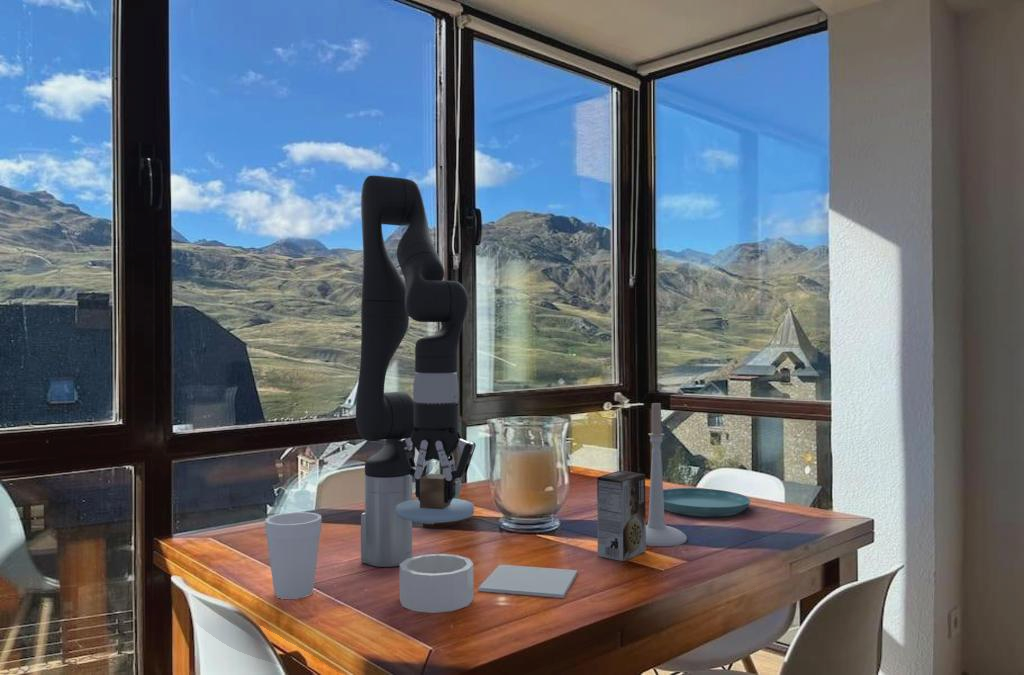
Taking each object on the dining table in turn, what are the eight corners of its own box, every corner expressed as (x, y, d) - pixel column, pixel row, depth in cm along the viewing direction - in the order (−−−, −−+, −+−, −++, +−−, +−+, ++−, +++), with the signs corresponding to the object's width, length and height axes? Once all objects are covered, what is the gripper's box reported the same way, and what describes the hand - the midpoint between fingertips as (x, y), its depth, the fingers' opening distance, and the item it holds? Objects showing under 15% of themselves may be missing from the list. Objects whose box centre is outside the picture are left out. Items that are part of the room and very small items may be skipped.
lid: (383, 519, 125) (383, 481, 125) (413, 502, 138) (413, 467, 138) (459, 525, 122) (459, 485, 122) (483, 506, 135) (483, 471, 135)
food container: (438, 531, 176) (437, 487, 176) (418, 527, 179) (418, 484, 179) (473, 521, 186) (472, 479, 186) (453, 517, 189) (453, 476, 189)
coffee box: (619, 546, 163) (619, 469, 163) (646, 551, 159) (646, 473, 159) (596, 556, 156) (595, 476, 156) (623, 562, 152) (623, 479, 152)
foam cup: (327, 584, 138) (326, 511, 138) (315, 602, 129) (315, 524, 129) (273, 585, 138) (273, 512, 138) (258, 603, 129) (257, 525, 129)
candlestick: (630, 546, 163) (630, 403, 163) (623, 531, 176) (623, 399, 176) (692, 546, 163) (691, 403, 163) (680, 531, 175) (680, 398, 175)
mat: (478, 591, 134) (478, 587, 134) (499, 567, 148) (499, 564, 148) (563, 598, 131) (563, 594, 131) (577, 573, 144) (577, 570, 144)
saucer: (750, 523, 184) (749, 509, 184) (647, 516, 191) (647, 503, 191) (751, 502, 207) (751, 490, 207) (659, 497, 214) (659, 485, 214)
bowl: (388, 608, 126) (388, 572, 126) (416, 585, 137) (416, 552, 137) (459, 615, 123) (458, 577, 123) (481, 591, 134) (481, 556, 134)
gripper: (387, 400, 128) (387, 503, 128) (469, 402, 124) (468, 509, 125) (405, 396, 135) (404, 494, 136) (482, 398, 132) (482, 499, 132)
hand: (435, 500), depth 130 cm, fingers closed on lid, 4 cm apart
